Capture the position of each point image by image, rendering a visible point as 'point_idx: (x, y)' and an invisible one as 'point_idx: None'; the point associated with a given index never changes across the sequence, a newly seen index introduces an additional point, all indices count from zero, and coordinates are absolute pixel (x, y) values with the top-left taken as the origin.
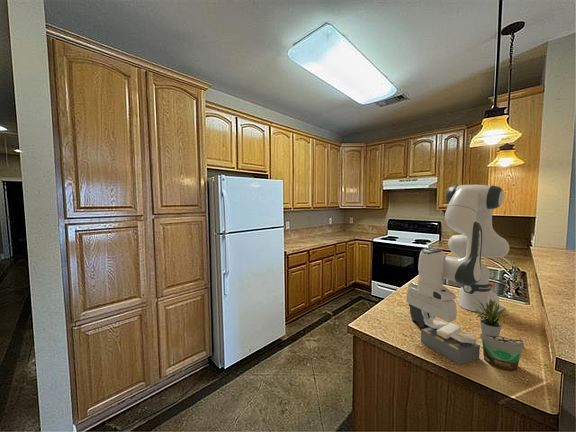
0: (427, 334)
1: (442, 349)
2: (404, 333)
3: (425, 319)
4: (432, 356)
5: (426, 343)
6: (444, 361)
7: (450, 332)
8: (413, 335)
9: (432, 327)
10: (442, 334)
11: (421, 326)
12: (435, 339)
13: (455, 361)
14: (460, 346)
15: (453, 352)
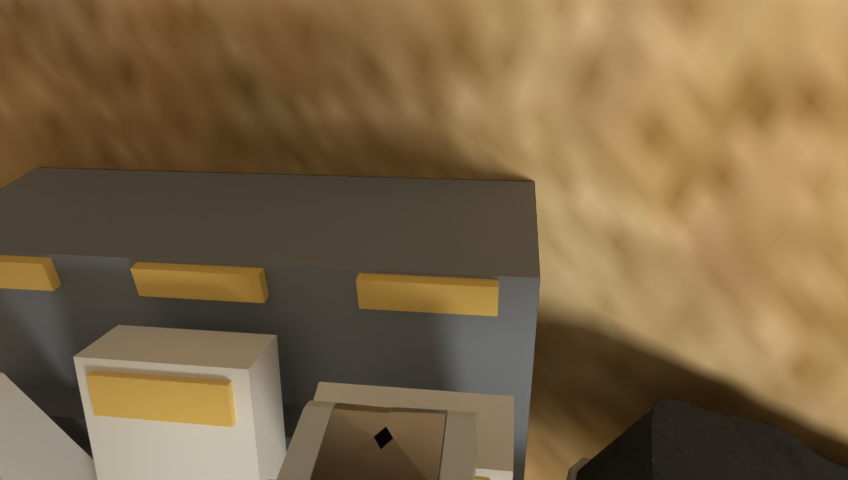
0: (407, 256)
1: (193, 201)
2: (811, 135)
3: (420, 457)
4: (208, 25)
5: (441, 186)
6: (102, 78)
7: (100, 460)
8: (690, 211)
9: (335, 391)
10: (144, 353)
11: (707, 415)
12: (266, 247)
13: (67, 175)
14: (16, 346)
15: (28, 218)
